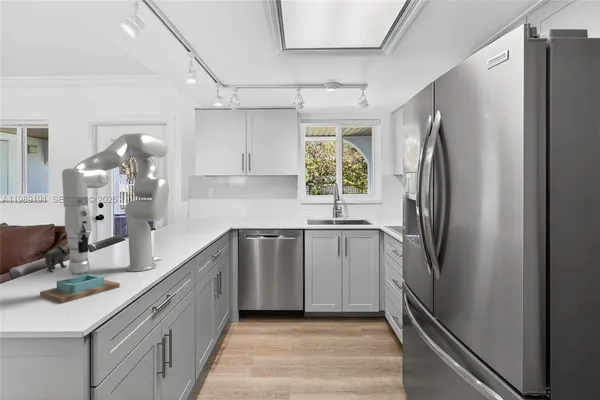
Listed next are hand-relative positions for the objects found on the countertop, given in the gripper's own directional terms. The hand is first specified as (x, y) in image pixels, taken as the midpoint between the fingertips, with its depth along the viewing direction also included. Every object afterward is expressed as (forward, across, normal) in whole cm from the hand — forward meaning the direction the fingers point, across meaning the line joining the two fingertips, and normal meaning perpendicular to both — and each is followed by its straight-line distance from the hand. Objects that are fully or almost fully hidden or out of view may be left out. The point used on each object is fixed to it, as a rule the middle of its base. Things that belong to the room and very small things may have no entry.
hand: (78, 251), depth 130 cm
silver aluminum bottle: (+9, 0, 0) cm, 9 cm away
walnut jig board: (+15, 0, 0) cm, 15 cm away
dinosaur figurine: (+15, +46, -11) cm, 50 cm away
